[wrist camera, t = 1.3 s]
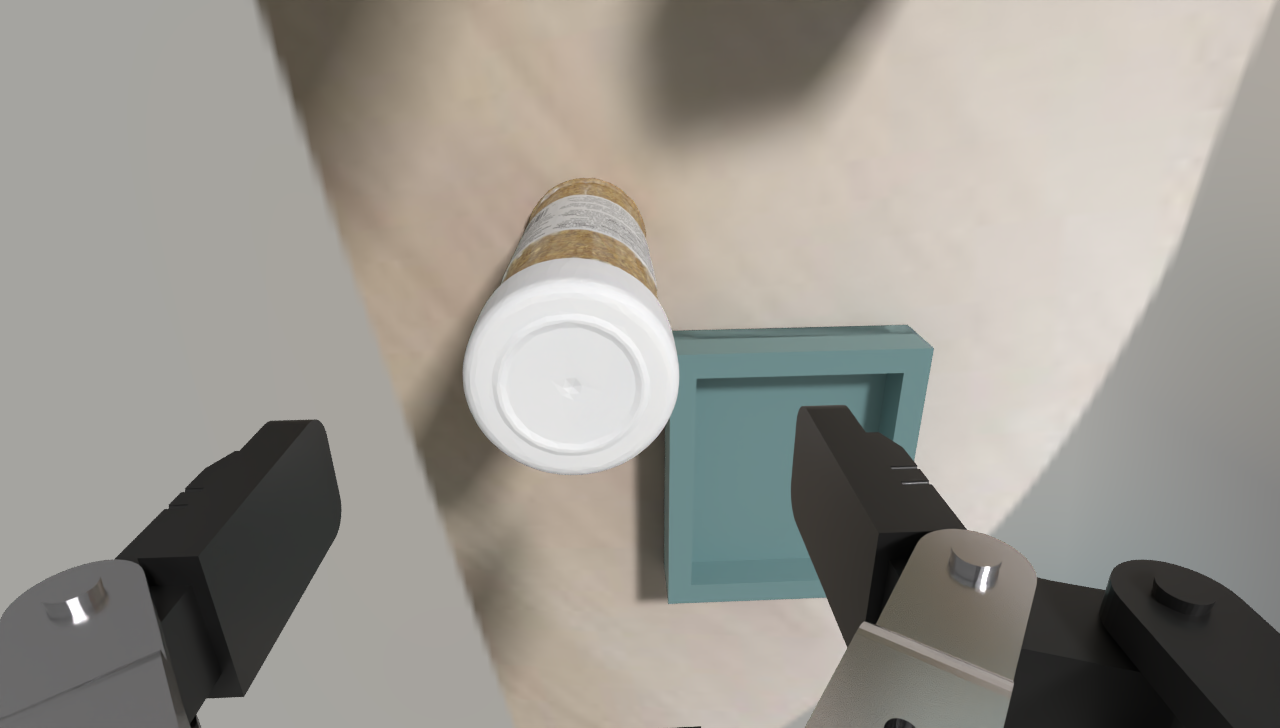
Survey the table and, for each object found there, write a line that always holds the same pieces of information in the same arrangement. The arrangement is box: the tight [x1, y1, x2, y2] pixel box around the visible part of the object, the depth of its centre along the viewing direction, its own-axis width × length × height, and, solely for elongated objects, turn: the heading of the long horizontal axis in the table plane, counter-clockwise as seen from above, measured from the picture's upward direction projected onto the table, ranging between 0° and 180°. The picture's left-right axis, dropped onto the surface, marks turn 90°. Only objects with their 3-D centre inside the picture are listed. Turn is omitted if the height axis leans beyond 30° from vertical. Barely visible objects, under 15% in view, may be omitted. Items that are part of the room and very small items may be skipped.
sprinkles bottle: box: [463, 178, 679, 475], centre depth 20 cm, size 5×4×13 cm
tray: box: [664, 325, 934, 604], centre depth 30 cm, size 12×10×2 cm
